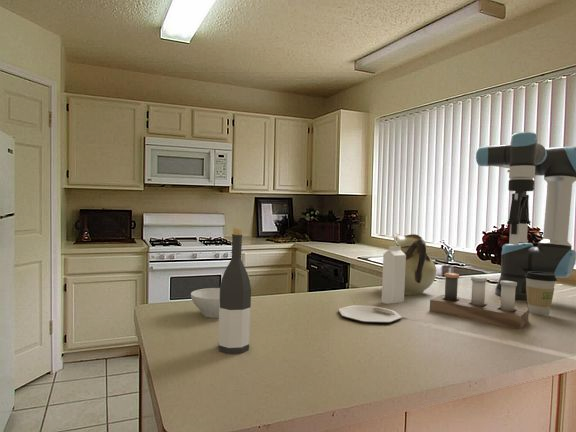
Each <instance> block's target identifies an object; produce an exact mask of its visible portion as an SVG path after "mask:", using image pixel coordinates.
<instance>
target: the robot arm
mask: <svg viewBox="0 0 576 432" xmlns="http://www.w3.org/2000/svg"><path fill="white" fill-rule="evenodd" d="M510 138H511V139H510V144H503V145H502V144H501V145H500V144H499V145H498V144H497V145H486V146H480V147H478V148H477V150H476V152H475V161H476V164H477V165H478V166H479V167H499V168H503V169H504V168H505V169H507V173H508V178H509V179H510V180H508V185H507V186H508V187H507V188H508V189H507V190H508V191H510V192H514V193H512V194H511V203H510V209H509V210H510V211H509V217H508V220H507V222H506V223H507V225H509V238H508V239H509V241H508V243H505V244H503V245H502V247H501V249H502V250H501V254H500V256H501V259H500V260H501V262H500V276H499V279H498V282H497V284H496V287H495V291H494V293H495V295H498V296H499V297H501V284H500V281H513V282H517V286H516V288H515V300H516V299H517V300H527V292H526V278H525V275H526V274H527V272H528V271H536V272H546V273H552V274H555V278H561V279H563V278H564V279H566V278H568V277H570V276H571V274H572V273H573V271H574V268H575V264H576V251H575V250H574V249H572V247H573V246H572V244H571V243H570V242H569V241H568V240H569V238H568V237H569V226H570V215H571V204H572V195H573V194H572V192H573V184H574V183H575V182H576V146H560V147H556V146H555V147H544V146H543V145H542V144H540V143H537V142H538V139H537V138H538V137H537V134H536V132H532V131H531V132H529V131H523V132H515V133H513V134H512V135H511V137H510ZM536 176H543V180H544V181H545V182H546V183H547V186H546V189H547V190H546V199H545V209H544V210H545V211H544V223H543V233H542V234H543V235H542V239H541V240H540V241H538V242H537V243H538V244H537V246H534V244H533V243H532V242H528V226H529V225H530V224H531V220H530V211H529V210H530V207H529V206H530V203H529V200H530V199H529V198H530V196H529V194H527V192H534V190H535V180H534V179H535V178H536Z"/></svg>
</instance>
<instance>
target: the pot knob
mask: <svg viewBox="0 0 576 432" xmlns="http://www.w3.org/2000/svg"><path fill="white" fill-rule="evenodd" d="M444 277H445V282H444V295H445V300H449V301H457V297H458V285H459V284H458V283H459V278H460V274H459V273H454V272H445V273H444Z"/></svg>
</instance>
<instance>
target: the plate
mask: <svg viewBox="0 0 576 432" xmlns="http://www.w3.org/2000/svg"><path fill="white" fill-rule="evenodd" d="M375 309H381V310H385V311H390V312H392V313H393V314H392V313H388V312H384V311H380V310H375ZM337 311H338V312H339V313H340V316H341V317H342V318H345V319H349V320H353V321H355V322H356V321H357V322H360V323H373V324H375V323H376V324H389V323H390V324H391V323H393V322H396V321H398V320H402V315H400V314H399V313H398V312H397V311H395V310H393V309H389V308H385V307H380V306H377V305H358V304H357V305H356V304H354V305H348V306H344V307H340V308H338V310H337Z"/></svg>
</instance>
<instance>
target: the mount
mask: <svg viewBox="0 0 576 432" xmlns="http://www.w3.org/2000/svg"><path fill="white" fill-rule="evenodd" d="M471 299H472V298H465V297H459V296H457V301H449V300H445V294H441V295H438V296H435V297H433V298H431V299H430V300H429V312H432V313H439V314H442V315H448V316H451V317H457V318H461V319H467V320H471V321H477V322H481V323H485V324H486V323H487V324H490V325H497V326H500V327H505V328H510V329H516V330H521V329H522V328H523V327H524V326H525V325H526V324H527V323H529V309H527V308H523V307H522V308H521V307H516V306H515V307H514V311H505V310H501V309H500V304H501V303H493V302H486V301H484V306H477V305H473V304H471Z"/></svg>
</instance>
